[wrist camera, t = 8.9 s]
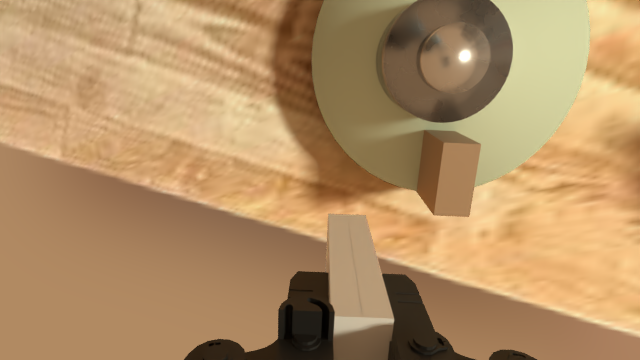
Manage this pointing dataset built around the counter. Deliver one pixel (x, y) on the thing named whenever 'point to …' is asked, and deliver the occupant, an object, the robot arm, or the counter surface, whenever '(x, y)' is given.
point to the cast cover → (445, 58)
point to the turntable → (453, 137)
